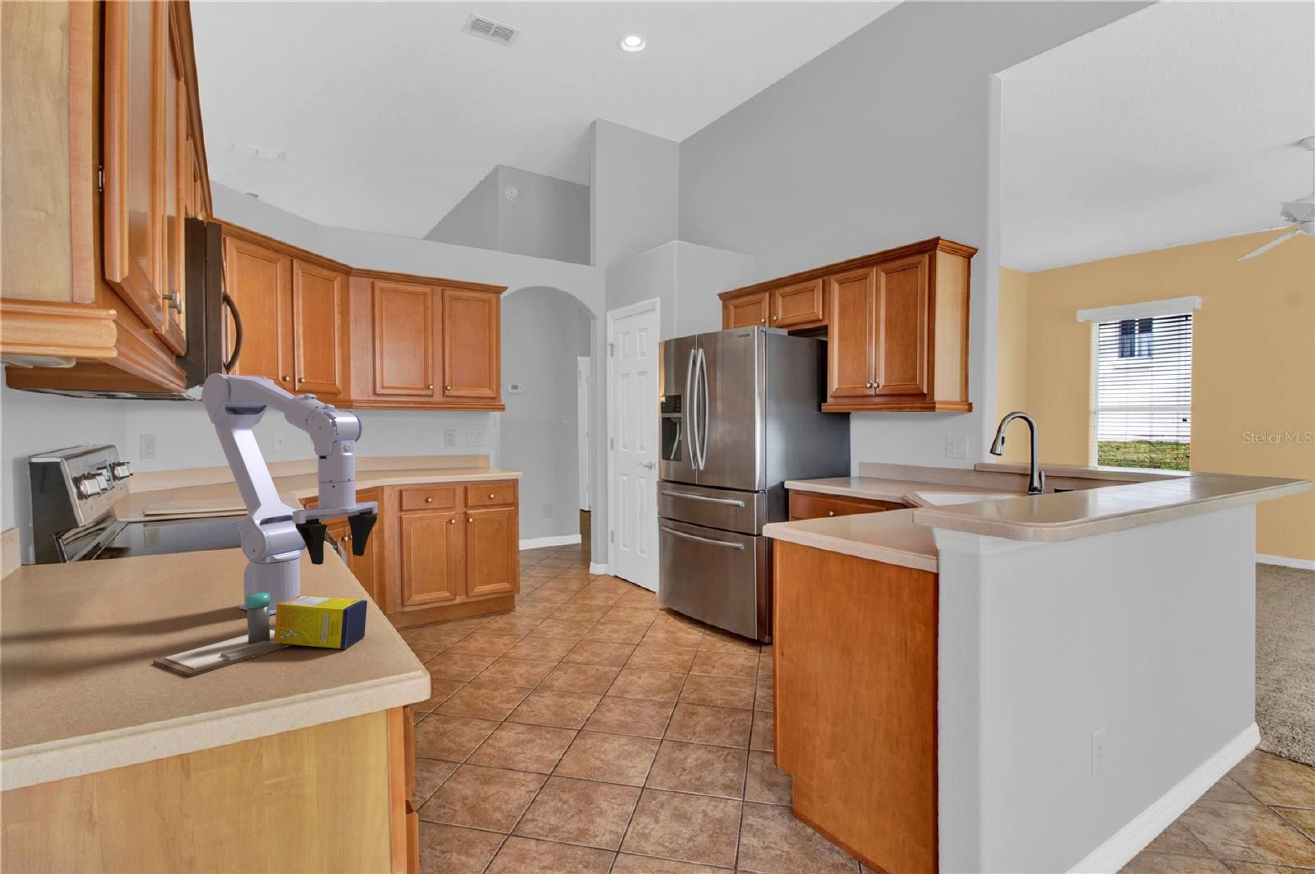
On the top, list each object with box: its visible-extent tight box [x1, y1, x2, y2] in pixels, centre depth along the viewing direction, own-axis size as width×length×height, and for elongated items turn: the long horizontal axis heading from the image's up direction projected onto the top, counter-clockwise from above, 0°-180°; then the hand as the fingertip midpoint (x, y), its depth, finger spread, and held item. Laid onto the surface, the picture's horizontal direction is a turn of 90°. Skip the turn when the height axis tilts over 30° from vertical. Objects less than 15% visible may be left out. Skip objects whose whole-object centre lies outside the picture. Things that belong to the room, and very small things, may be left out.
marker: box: [246, 593, 271, 645], centre depth 95 cm, size 3×3×7 cm
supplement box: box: [274, 594, 368, 650], centre depth 96 cm, size 6×6×11 cm
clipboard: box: [152, 626, 294, 678], centre depth 93 cm, size 10×16×1 cm, turn 151°
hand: (338, 559), depth 109 cm, fingers open, 7 cm apart
